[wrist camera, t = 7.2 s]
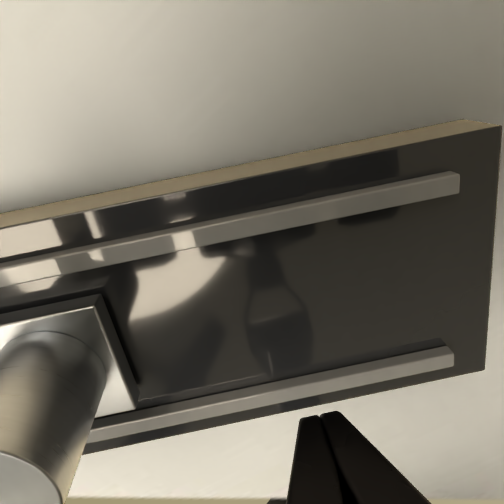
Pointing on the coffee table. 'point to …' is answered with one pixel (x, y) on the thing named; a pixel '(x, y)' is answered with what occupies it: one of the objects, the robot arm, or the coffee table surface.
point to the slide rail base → (277, 276)
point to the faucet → (56, 393)
